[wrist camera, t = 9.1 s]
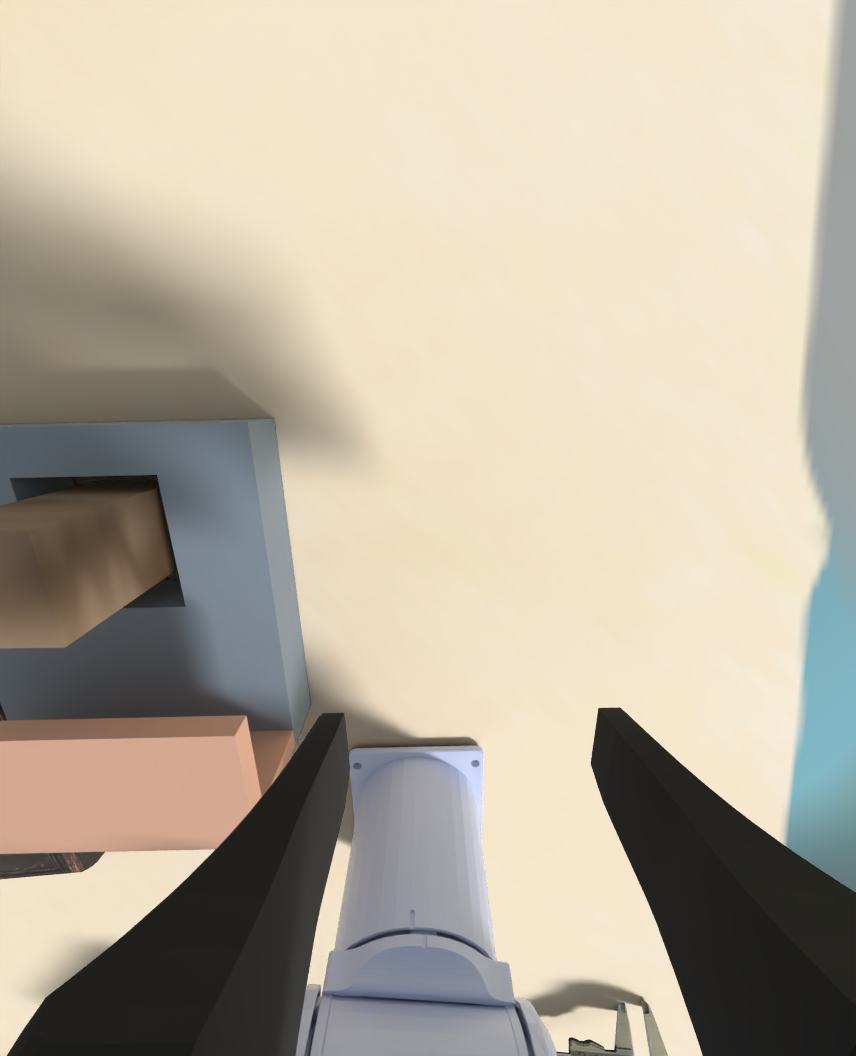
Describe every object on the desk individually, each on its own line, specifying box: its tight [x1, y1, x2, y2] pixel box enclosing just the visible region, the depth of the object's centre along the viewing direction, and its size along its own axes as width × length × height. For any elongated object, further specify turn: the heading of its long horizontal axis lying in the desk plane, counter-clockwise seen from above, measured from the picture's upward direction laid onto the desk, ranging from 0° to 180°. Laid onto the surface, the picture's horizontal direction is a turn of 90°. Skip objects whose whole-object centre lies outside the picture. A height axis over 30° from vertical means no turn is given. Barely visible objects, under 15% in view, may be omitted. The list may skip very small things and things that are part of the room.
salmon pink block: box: [0, 715, 295, 854], centre depth 18 cm, size 6×14×5 cm, turn 91°
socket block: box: [0, 419, 311, 745], centre depth 20 cm, size 16×14×3 cm
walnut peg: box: [0, 481, 177, 648], centre depth 17 cm, size 4×4×8 cm
